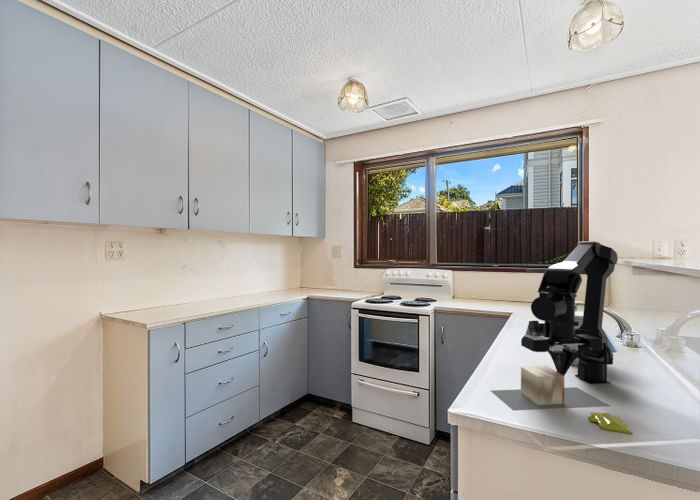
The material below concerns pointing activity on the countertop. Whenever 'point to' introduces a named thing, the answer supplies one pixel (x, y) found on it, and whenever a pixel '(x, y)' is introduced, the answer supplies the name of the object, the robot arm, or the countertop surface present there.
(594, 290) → the robot arm
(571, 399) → the charcoal mat
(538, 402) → the birch cube
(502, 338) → the countertop surface
